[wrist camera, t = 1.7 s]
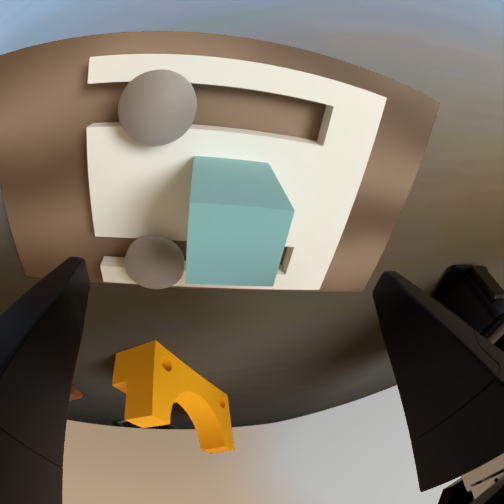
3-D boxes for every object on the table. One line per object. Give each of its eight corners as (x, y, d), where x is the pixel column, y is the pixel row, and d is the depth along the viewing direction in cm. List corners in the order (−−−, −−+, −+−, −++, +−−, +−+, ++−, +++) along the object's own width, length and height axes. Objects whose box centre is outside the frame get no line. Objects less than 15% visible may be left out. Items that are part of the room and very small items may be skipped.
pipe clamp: (116, 351, 22) (108, 421, 16) (155, 338, 21) (152, 415, 16) (192, 402, 29) (196, 455, 24) (227, 393, 28) (234, 449, 23)
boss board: (356, 279, 20) (373, 310, 17) (33, 264, 15) (15, 296, 13) (426, 97, 12) (463, 111, 10) (6, 55, 7) (-31, 62, 5)
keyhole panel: (315, 280, 17) (342, 345, 13) (106, 271, 15) (86, 343, 11) (377, 94, 11) (448, 122, 7) (96, 56, 8) (36, 62, 4)
